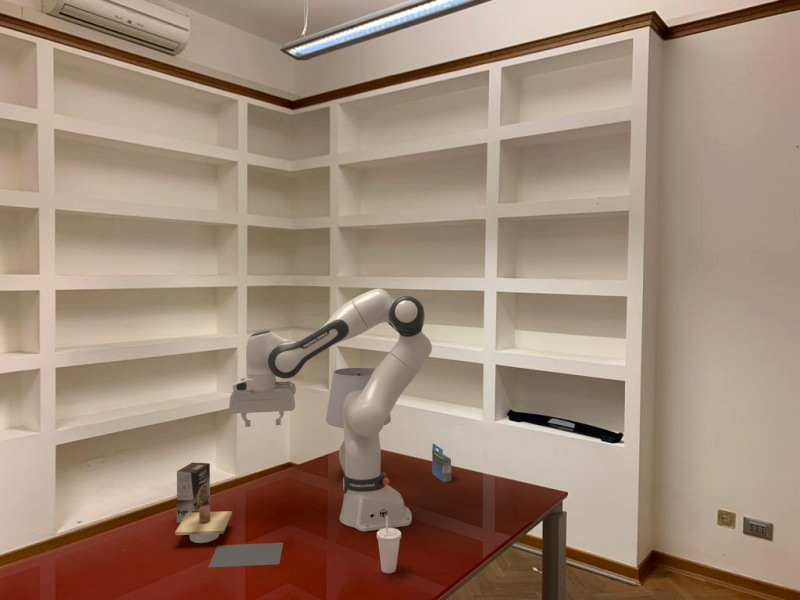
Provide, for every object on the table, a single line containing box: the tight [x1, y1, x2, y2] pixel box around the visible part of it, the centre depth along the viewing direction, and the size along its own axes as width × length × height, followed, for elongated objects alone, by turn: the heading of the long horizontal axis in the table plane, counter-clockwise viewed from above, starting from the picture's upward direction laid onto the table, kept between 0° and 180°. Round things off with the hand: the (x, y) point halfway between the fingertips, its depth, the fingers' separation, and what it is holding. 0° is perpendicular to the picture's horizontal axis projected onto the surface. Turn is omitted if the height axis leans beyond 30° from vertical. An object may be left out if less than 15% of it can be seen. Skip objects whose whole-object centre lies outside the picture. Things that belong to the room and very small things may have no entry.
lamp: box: [325, 366, 392, 474], centre depth 215 cm, size 24×24×40 cm
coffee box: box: [176, 462, 211, 524], centre depth 180 cm, size 9×6×16 cm
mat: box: [208, 542, 284, 568], centre depth 157 cm, size 18×12×1 cm, turn 96°
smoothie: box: [376, 516, 402, 574], centre depth 150 cm, size 6×6×14 cm
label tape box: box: [431, 442, 452, 483], centre depth 217 cm, size 9×4×12 cm, turn 23°
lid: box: [174, 505, 233, 536], centre depth 167 cm, size 13×13×5 cm
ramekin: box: [189, 534, 220, 544], centre depth 167 cm, size 9×9×4 cm
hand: (263, 425), depth 185 cm, fingers open, 8 cm apart
